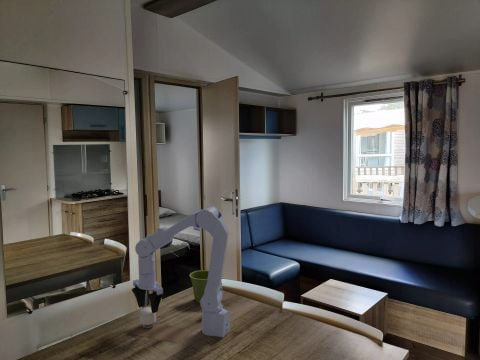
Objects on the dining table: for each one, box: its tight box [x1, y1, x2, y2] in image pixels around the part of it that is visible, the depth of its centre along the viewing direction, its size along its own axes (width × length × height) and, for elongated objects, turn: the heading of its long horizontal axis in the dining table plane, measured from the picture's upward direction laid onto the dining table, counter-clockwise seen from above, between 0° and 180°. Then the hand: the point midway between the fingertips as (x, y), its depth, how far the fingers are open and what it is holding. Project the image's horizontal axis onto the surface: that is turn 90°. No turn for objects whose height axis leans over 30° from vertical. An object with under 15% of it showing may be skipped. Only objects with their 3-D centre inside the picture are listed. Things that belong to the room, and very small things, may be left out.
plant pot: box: [189, 270, 209, 304], centre depth 159 cm, size 12×12×11 cm
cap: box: [139, 306, 157, 325], centre depth 133 cm, size 6×6×4 cm
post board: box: [126, 322, 192, 345], centre depth 129 cm, size 20×10×6 cm, turn 69°
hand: (148, 309), depth 133 cm, fingers open, 7 cm apart
